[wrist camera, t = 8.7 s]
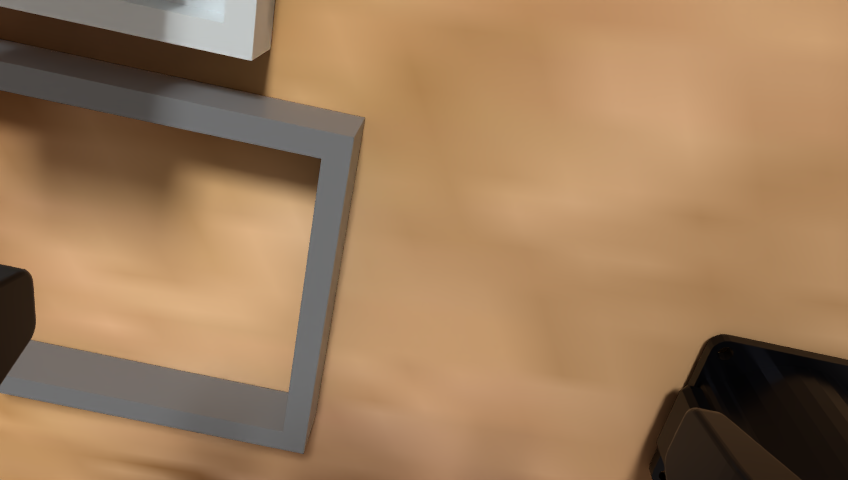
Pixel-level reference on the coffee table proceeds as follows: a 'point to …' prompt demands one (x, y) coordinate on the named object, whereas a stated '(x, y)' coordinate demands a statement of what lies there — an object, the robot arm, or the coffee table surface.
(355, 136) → the grey flat square frame
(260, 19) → the tray
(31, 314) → the robot arm
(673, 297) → the coffee table surface
